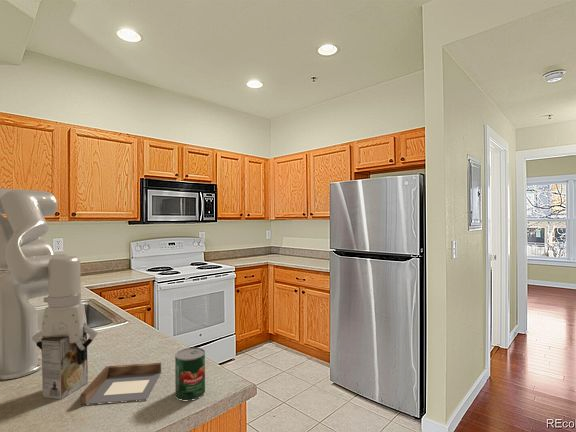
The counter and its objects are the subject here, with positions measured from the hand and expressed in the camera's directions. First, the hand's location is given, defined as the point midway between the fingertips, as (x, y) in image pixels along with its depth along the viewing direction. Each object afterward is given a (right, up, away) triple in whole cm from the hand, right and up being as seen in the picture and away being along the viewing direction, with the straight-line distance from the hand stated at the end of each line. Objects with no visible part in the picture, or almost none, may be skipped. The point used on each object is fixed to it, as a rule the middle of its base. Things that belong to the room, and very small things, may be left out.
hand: (65, 363), depth 93 cm
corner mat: (+16, -7, +1) cm, 18 cm away
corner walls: (+16, -7, +1) cm, 18 cm away
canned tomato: (+36, -7, -2) cm, 37 cm away
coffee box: (0, -8, 0) cm, 8 cm away
